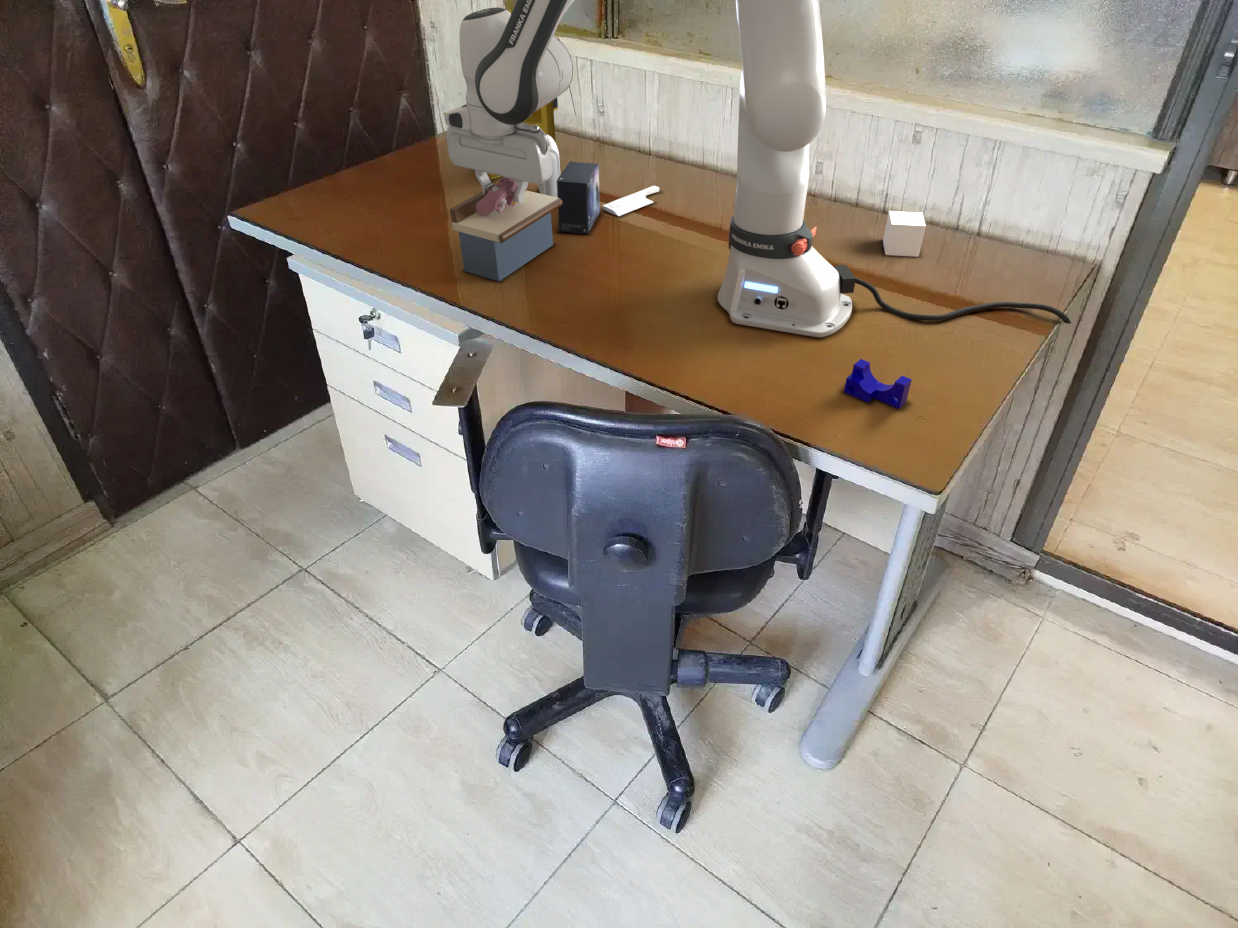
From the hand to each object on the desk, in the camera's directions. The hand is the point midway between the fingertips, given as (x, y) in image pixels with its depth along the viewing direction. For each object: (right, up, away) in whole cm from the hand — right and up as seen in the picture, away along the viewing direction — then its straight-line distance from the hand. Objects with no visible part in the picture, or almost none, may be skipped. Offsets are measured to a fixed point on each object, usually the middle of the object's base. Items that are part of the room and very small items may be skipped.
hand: (503, 198), depth 147 cm
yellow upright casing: (-4, +23, +46) cm, 51 cm away
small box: (+13, +1, +20) cm, 23 cm away
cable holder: (+57, -38, -27) cm, 74 cm away
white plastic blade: (+24, +7, +27) cm, 37 cm away
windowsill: (0, -9, +8) cm, 12 cm away
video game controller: (0, -2, +2) cm, 2 cm away
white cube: (+73, -7, +9) cm, 74 cm away
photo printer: (+6, +10, +30) cm, 32 cm away
